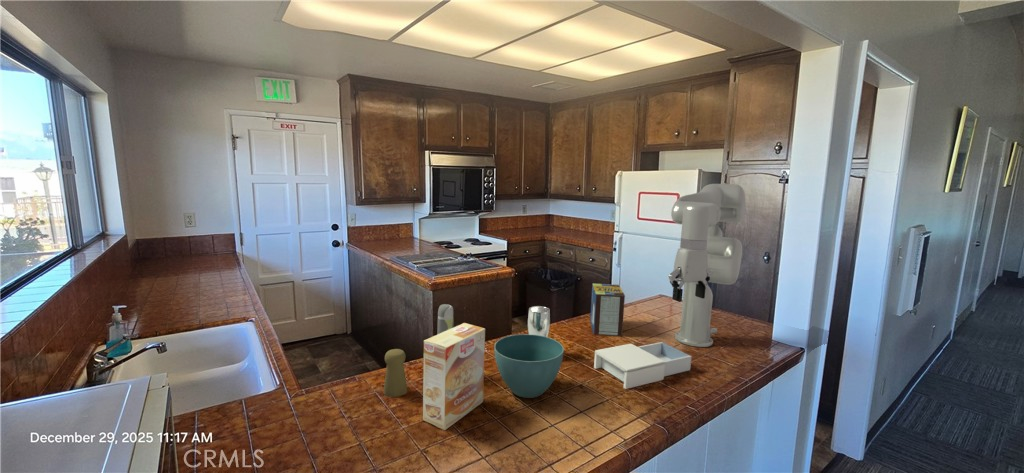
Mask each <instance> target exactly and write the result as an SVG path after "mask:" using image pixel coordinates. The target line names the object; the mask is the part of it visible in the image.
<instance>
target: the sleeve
mask: <svg viewBox="0 0 1024 473" xmlns="http://www.w3.org/2000/svg"><path fill="white" fill-rule="evenodd" d="M602 358H604V359H605V360H607V361H609V362H610V363H612V364H613V365H615V366H617V367H618V368H620V369H621V370H623V371H625V375H624V382H623V389H625V390H627V389H631V388H636V387H640V386H643V385H647V384H650V383H651V384H652V383H656V382H659V381H663V380H664V379H665V376H664V368H665V361H663V360H661V359H660V358H658V357H656V356H654V355H652V354H650V353H648V352H646V351H644V350H642V349H641V348H639V346H636V345H635V344H633V343H628V344H627V343H626V344H623V345H616V346H612V347H605V348H601V349H595V350H594V362H593V363H594V364H593V369H595V370H597V369H603V368H602Z"/></svg>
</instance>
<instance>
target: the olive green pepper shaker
mask: <svg viewBox="0 0 1024 473" xmlns="http://www.w3.org/2000/svg"><path fill="white" fill-rule="evenodd" d="M406 356H407V355H406V353H405V351H404V350H403V349H400V348H394V349H389V350H387V352H386V353H385V355H384V362H385V364H386V369H385V376H384V384H383V391H382V392H383V394H384V396H385V397H390V398H398V397H400V396H403V395H405V394H406V393H407V392H408V386H407V385H408V384H407V379H406V378H407V377H406V372H405V366H404V363H405V361H406Z"/></svg>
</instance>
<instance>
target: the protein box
mask: <svg viewBox="0 0 1024 473" xmlns="http://www.w3.org/2000/svg"><path fill="white" fill-rule="evenodd" d="M591 287H592V288H591V301H590V302H591V303H590V319H589V320H590V326H591V329H592V330H591V331H592V335H597V336H610V337H611V336H612V337H613V336H614V337H623V331H624V330H623V328H624V315H625V299H626V295H625V293H624V291H623V289H622V288H621V287H620V284H608V283H592V286H591Z"/></svg>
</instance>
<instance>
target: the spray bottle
mask: <svg viewBox="0 0 1024 473" xmlns="http://www.w3.org/2000/svg"><path fill="white" fill-rule="evenodd" d="M437 310H438V311H437V328H436V329H437V331H436V332H437V334H436V335H438V334H440V333H442V332H444V331H447V330H449V329H451V328H454V327H455V323H454V322H455V321H454V320H455V319H454V307H453V306H452V305H450V304H447V303H443V304H440V305H439V307H438V309H437Z"/></svg>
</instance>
